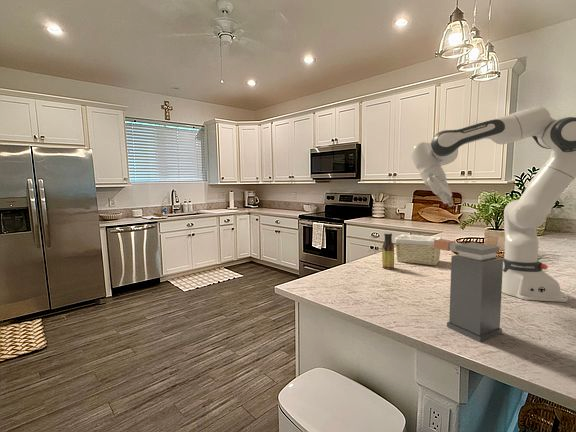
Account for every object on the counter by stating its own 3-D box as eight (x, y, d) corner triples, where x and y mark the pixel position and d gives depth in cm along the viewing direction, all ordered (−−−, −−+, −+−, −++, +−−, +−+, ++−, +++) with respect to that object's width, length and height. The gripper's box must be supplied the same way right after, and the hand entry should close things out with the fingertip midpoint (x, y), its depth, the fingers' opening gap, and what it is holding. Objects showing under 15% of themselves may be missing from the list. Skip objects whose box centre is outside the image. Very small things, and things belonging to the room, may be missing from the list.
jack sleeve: (502, 333, 95) (506, 258, 92) (480, 342, 90) (483, 263, 87) (468, 319, 105) (470, 251, 102) (446, 326, 100) (449, 255, 97)
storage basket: (393, 261, 182) (393, 237, 180) (401, 256, 195) (401, 233, 193) (437, 267, 168) (437, 241, 166) (442, 260, 181) (442, 236, 180)
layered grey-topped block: (495, 320, 95) (499, 246, 92) (479, 326, 91) (482, 250, 89) (443, 300, 111) (445, 237, 109) (427, 305, 108) (429, 240, 105)
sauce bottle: (384, 265, 173) (385, 231, 171) (395, 267, 169) (396, 232, 167) (380, 268, 168) (380, 233, 166) (391, 270, 164) (391, 234, 162)
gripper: (434, 167, 121) (451, 197, 117) (446, 177, 137) (461, 203, 132) (419, 175, 125) (435, 205, 120) (433, 184, 141) (447, 210, 136)
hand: (449, 204), depth 126 cm, fingers open, 8 cm apart
